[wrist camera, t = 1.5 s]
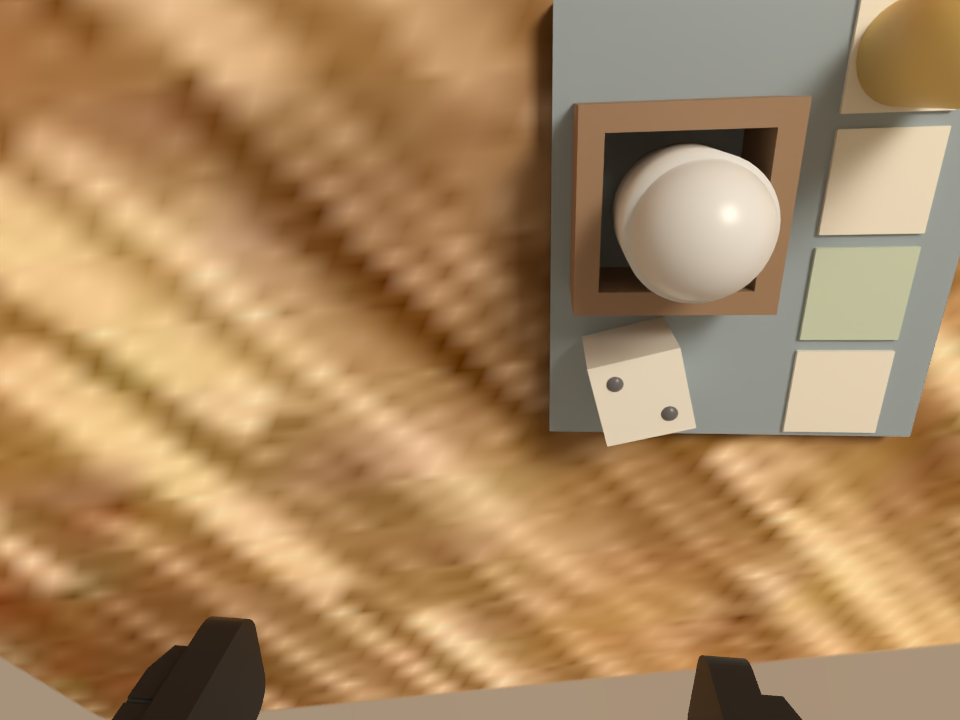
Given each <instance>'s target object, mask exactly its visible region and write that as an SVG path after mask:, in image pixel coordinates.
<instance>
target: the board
mask: <svg viewBox="0 0 960 720" xmlns="http://www.w3.org/2000/svg"><path fill="white" fill-rule="evenodd" d="M896 1H898V0H553V45H552V161H551V277H550V393H549V431H559V432H603V428H602V424H601V421H600V417H599V413H598V409H597V405H596V402H595V398H594V394H593V390H592V386H591V382H590V379H589V375H588V371H587V366H586V359H585V353H584V347H583V340H582V336H585V335H590V334H594V333H598V332H602V331H606V330H610V329H614V328H618V327H622V326H626V325H630V324H634V323H638V322H642V321H646V320H651V319H655V318H659V317H663V316H664V318H665V320H666V322H667V324H668V325H669V327H670V329H671V331H672V333H673V335H674V337H675V339H676V340H677V342H678V344H679V346H680V348H681V353H682V358H683V363H684V368H685V373H686V378H687V383H688V388H689V393H690V398H691V403H692V408H693V413H694V418H695V424H696V428H694V429H689V430H685V431H680V432H675V433H696V434H764V435H832V436H900V437H910V434H911V430H912V427H913V423H914V419H915V416H916V412H917V409H918V405H919V401H920V398H921V394H922V390H923V387H924V383H925V379H926V376H927V372H928V368H929V365H930V361H931V358H932V354H933V350H934V347H935V343H936V339H937V336H938V332H939V328H940V325H941V321H942V318H943V314H944V310H945V307H946V303H947V299H948V296H949V292H950V288H951V285H952V281H953V278H954V274H955V270H956V267H957V263H958V259H959V256H960V109H941V108H916V107H892V106H886V105H883V104H880V103H878V102H876V101H874V100H873V99H872V98H870V97H869V96H868V95H867V94H866V93H865V91H864V90H863V88H862V87H861V84H860V82H859V79H858V76H857V69H856V60H857V53H858V49H859V46H860V43H861V40H862V38H863V36H864V34H865V32H866V30H867V29H868V27H869V26H870V24H871V23H872V22H873V21H874V19H875V18H876V17H877V16H878V15H879V14H880V13H881V12H882V11H883V10H885V9H886V8H887V7H888V6H890V5H891V4H893V3H895V2H896ZM683 142H684V143H697V144H702V145H705V146H708V147H711V148H714V149H717V150H720V151H723V152H726V153H729V154H732V155H735V156H738V157H740V158H742V159H744V160H746V161H748V162H750V163H751V164H753V165H754V166H756V167H757V168H758V169H759V170H760V171H761V172H762V173H763V174H764V175H765V176H766V177H767V179H768V180H769V181H770V183H771V185H772V187H773V188H774V190H775V193H776V196H777V198H778V202H779V207H780V219H781V221H780V231H779V235H778V240H777V243H776V245H775V248H774V251H773V253H772V255H771V257H770V259H769V261H768V262H767V264H766V265H765V267H764V268H763V270H762V271H761V272H760V273H759V274H758V276H757V277H756V278H755V279H753V280H752V281H751V282H750V283H749V284H748V285H746V286H745V287H744V288H742V289H740V290H739V291H737V292H735V293H733V294H731V295H729V296H726V297H724V298H721V299H718V300H715V301H711V302H705V303H694V304H692V303H680V302H675V301H671V300H668V299H665V298H663V297H661V296H659V295H657V294H655V293H654V292H652V291H651V290H649V289H648V288H647V287H646V286H645V285H643V284H642V283H641V281H640V280H639V279H638V278H637V277H636V275H635V274H634V272H633V271H632V269H631V267H630V265H629V263H628V261H627V259H626V257H625V255H624V253H623V251H622V249H621V247H620V245H619V243H618V241H617V238H616V236H615V233H614V229H613V224H612V206H613V201H614V197H615V193H616V191H617V188H618V186H619V184H620V182H621V180H622V179H623V177H624V176H625V174H626V173H627V171H628V170H629V169H630V168H631V167H632V166H633V165H634V164H635V163H636V162H637V161H638V160H639V159H640V158H642V157H643V156H645V155H646V154H648V153H649V152H651V151H653V150H655V149H657V148H660V147H663V146H665V145H670V144H674V143H683Z"/></svg>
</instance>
